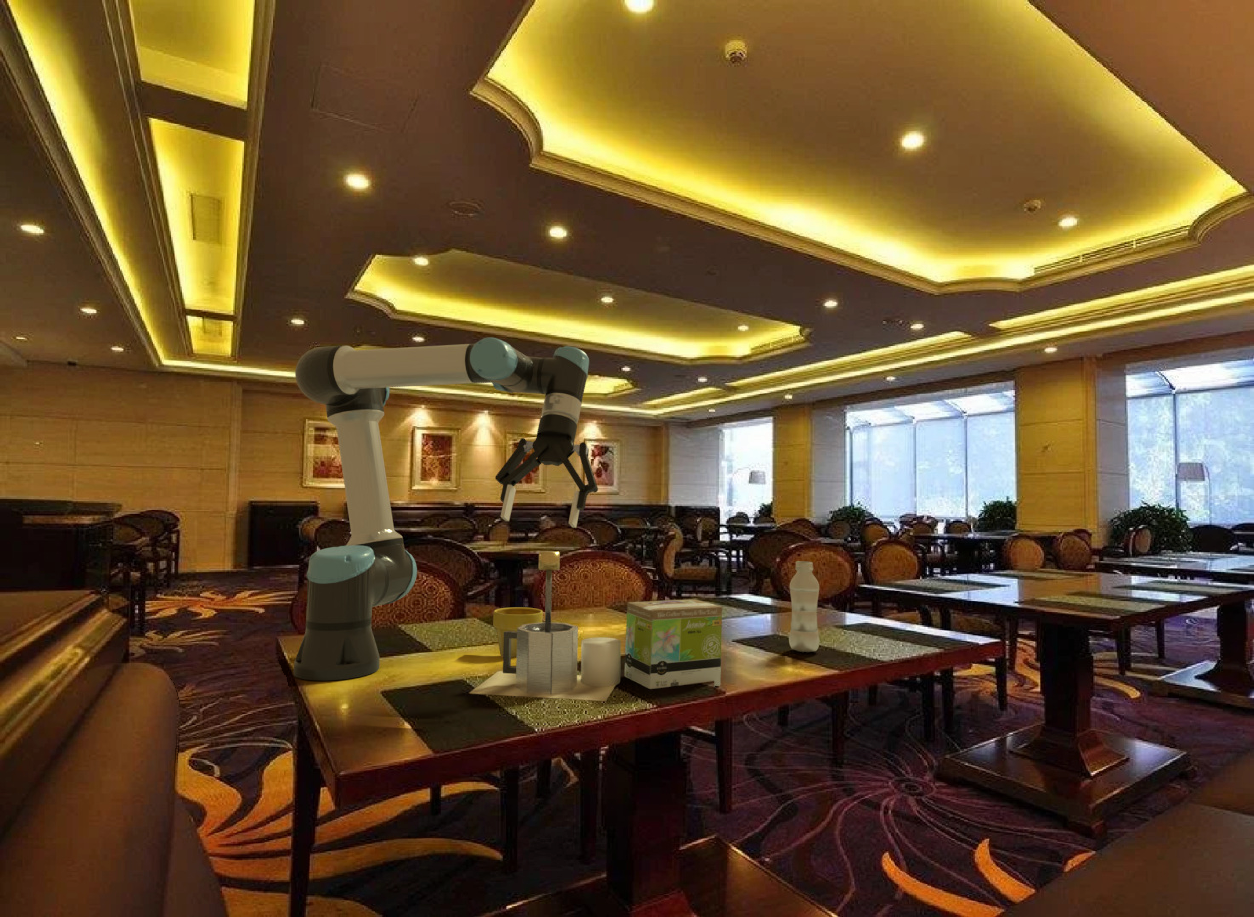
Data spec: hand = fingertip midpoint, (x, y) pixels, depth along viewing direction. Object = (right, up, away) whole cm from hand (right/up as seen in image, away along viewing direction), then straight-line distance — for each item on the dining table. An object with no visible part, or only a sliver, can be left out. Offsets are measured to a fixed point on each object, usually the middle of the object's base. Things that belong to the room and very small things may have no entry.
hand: (538, 522), depth 129 cm
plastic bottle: (+57, -32, +24) cm, 69 cm away
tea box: (+25, -29, -4) cm, 39 cm away
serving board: (+3, -28, -10) cm, 30 cm away
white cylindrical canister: (+12, -28, -7) cm, 31 cm away
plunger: (+3, -19, -11) cm, 22 cm away
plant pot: (-6, -30, +15) cm, 34 cm away
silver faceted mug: (+2, -27, -11) cm, 29 cm away
